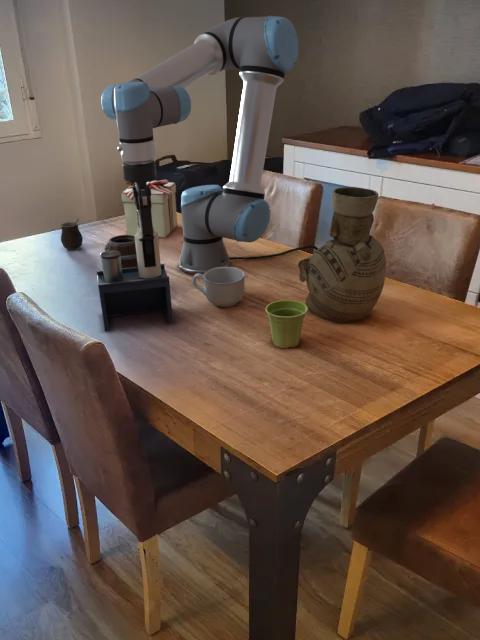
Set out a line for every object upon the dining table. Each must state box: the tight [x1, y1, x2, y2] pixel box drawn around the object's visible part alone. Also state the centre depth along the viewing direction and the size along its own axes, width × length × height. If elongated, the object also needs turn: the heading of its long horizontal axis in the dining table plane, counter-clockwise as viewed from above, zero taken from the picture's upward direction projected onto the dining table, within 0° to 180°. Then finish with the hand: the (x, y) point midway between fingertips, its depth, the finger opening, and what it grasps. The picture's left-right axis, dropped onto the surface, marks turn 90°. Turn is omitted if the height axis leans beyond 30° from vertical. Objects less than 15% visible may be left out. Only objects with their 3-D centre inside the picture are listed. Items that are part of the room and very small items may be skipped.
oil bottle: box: [134, 210, 162, 278], centre depth 152 cm, size 6×6×15 cm
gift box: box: [120, 179, 178, 239], centre depth 218 cm, size 17×18×17 cm
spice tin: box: [99, 250, 123, 283], centre depth 153 cm, size 5×5×7 cm
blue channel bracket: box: [96, 263, 174, 332], centre depth 158 cm, size 17×10×12 cm, turn 101°
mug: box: [104, 234, 138, 268], centre depth 175 cm, size 16×12×15 cm
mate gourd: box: [60, 218, 84, 251], centre depth 209 cm, size 7×8×10 cm
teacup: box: [191, 266, 246, 308], centre depth 167 cm, size 14×11×8 cm
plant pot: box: [265, 299, 309, 349], centre depth 145 cm, size 9×9×9 cm
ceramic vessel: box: [297, 186, 387, 324], centre depth 151 cm, size 19×21×30 cm
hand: (148, 261), depth 154 cm, fingers closed on oil bottle, 6 cm apart
